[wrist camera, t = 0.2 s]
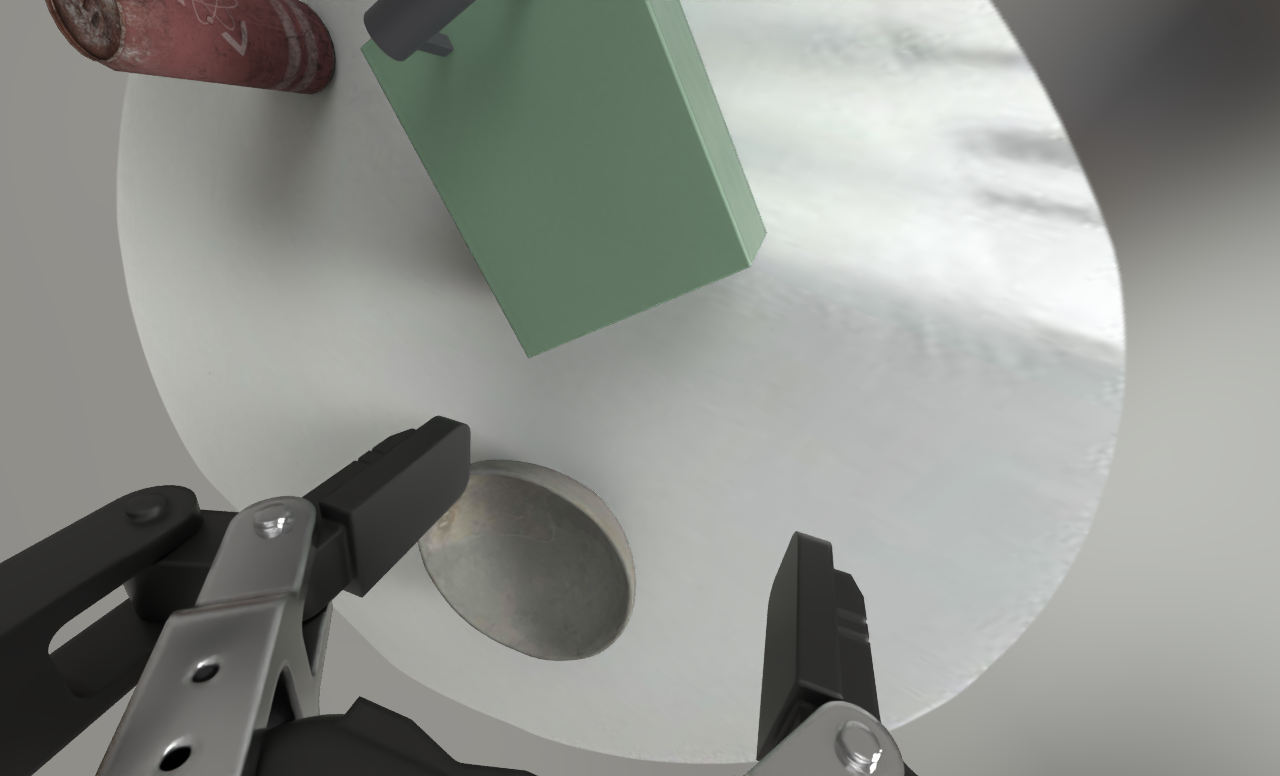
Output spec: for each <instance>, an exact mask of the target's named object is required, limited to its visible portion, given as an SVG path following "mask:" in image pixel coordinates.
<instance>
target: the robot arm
mask: <svg viewBox="0 0 1280 776" xmlns="http://www.w3.org/2000/svg"><path fill="white" fill-rule="evenodd" d="M469 478H470V428H469V426H468V425H467V424H464V423H461V422H458V421H455V420H452V419H449V418H446V417H442V416H436V417H434V418H432V419H431V420H429V421H428V422H427V423H425V424H424V425H422V426H421V427H420V428H418V429H417V430H415V429H409V430H406V431H403V432H400V433H398V434H395V435H392V436H389V437H388V438H387V439H385V440H384V441H382V442H381V443H379V444H378V445H377V446H375V447H374V448H373V449H372V451H368V452H366V453H365V454H364V455H362V456H361V457H359V458H358V461H354V462H352V463H351V464H349V465H348V466H346V467H345V468H343V469H342V470H341V471H339V472H338V473H336V474H335V475H333V476H332V477H331V478H329V479H328V480H326V481H325V482H323V483H322V484H320V485H319V486H318V487H316V488H315V489H313V490H312V491H310V492H309V493H308V494H306V495H305V496H303V497H302V498H300V497H295V496H281V497H274V498H270V499H266V500H263V501H260V502H257V503H255V504H252V505H251V506H249V507H247V508H245V509H244V510H242V511H241V512H226V511H212V510H200V508H199V504H198V501H197V498H196V495H195V494H194V492H193V491H192V490H190V489H188V488H186V487H182V486H174V485H164V486H155V487H150V488H145V489H142V490H139V491H135V492H132V493H130V494H127V495H125V496H123V497H121V498H119V499H116V500H115V501H113V502H111V503H109V504H107V505H106V506H104V507H102V508H100V509H98V510H96V511H95V512H93V513H91V514H89V515H87V516H86V517H84V518H82V519H80V520H78V521H76V522H75V523H73V524H71V525H69V526H67V527H65V528H64V529H62V530H60V531H58V532H56V533H55V534H53V535H51V536H49V537H47V538H46V539H44V540H42V541H40V542H38V543H36V544H35V545H33V546H31V547H29V548H27V549H26V550H24V551H22V552H20V553H18V554H16V555H15V556H13V557H11V558H9V559H7V560H5V561H4V562H2V563H0V776H31V775H33V774H34V773H35V772H36V771H37V770H38V769H39V768H41V767H42V766H43V765H44V764H45V763H46V762H48V761H49V760H50V759H51V758H52V757H53V756H55V755H56V754H57V753H58V752H59V751H60V750H62V749H63V748H64V747H65V746H66V745H67V744H69V743H70V742H71V741H72V740H73V739H74V738H76V737H77V736H78V735H79V734H80V733H81V732H83V731H84V730H85V729H86V728H87V727H88V726H89V725H91V724H92V723H93V722H94V721H95V720H97V719H98V718H99V717H100V716H101V715H102V714H103V713H105V712H106V711H107V710H108V709H109V708H110V707H111V706H113V705H114V704H115V703H116V702H117V701H119V700H120V699H121V698H122V697H123V696H124V695H126V694H127V693H128V692H129V691H130V690H131V689H133V687H135V686H136V685H137V686H136V688H135V691H134V693H133V695H132V697H131V699H130V701H129V703H128V706H127V708H126V710H125V712H124V714H123V716H122V719H121V721H120V723H119V725H118V727H117V729H116V732H115V734H114V736H113V738H112V741H111V743H110V745H109V747H108V749H107V751H106V753H105V755H104V758H103V760H102V762H101V764H100V766H99V768H98V771H97V773H96V775H95V776H537V775H534V774H532V773H530V772H528V771H524V770H516V769H507V768H498V767H489V766H480V765H472V764H464V763H460V762H457V761H455V760H454V759H453V758H452V757H451V756H449V755H448V754H447V753H446V752H445V751H444V750H443V749H442V748H441V747H440V746H439V745H438V744H437V743H436V742H435V741H433V739H431V738H430V737H429V736H428V735H427V734H426V733H425V732H424V731H423V730H422V729H421V728H420V727H419V726H417V724H416V723H415V722H414V721H412V720H411V719H409V718H407V717H405V716H402V715H400V714H398V713H396V712H394V711H391V710H389V709H387V708H385V707H382V706H380V705H378V704H376V703H373V702H371V701H369V700H367V699H365V698H362V697H359V698H358V699H357V700H356V701H355V703H354V704H353V705H352V706H351V708H350V709H349V710H348V711H347V713H346V714H326V715H320V709H319V708H320V707H319V696H320V685H321V678H322V672H323V666H324V660H325V654H326V648H327V641H328V635H329V629H330V623H331V616H332V610H333V604H332V599H334V598H335V597H336V596H337V595H338V594H339V593H340V592H341V591H342V590H345V591H347V592H350V593H352V594H355V595H357V596H359V597H363V596H364V595H365V594H366V593H367V592H368V591H369V590H370V589H371V588H372V587H373V586H374V585H375V584H376V583H377V582H378V581H379V580H380V579H381V578H382V577H383V576H384V575H385V574H386V573H387V572H388V571H389V570H390V569H391V568H392V567H393V566H394V565H395V564H396V563H397V562H398V561H399V560H400V559H401V558H402V557H403V556H404V555H405V554H406V553H407V552H408V551H409V549H410V548H411V547H412V546H413V545H414V544H415V543H416V542H417V541H418V540H419V539H420V538H421V537H422V536H423V535H424V534H425V533H426V532H427V531H428V530H429V529H430V528H431V527H432V526H433V525H434V524H435V523H436V522H437V521H438V520H439V519H440V518H441V517H442V516H443V515H444V514H445V513H446V512H447V511H448V510H449V509H450V508H451V507H452V506H453V505H454V504H455V503H456V502H457V501H458V500H459V498H460V497H461V496H462V495H463V493H464V491H465V489H466V487H467V485H468V482H469ZM122 584H123V585H124V587H125V589H126V592H127V594H128V596H129V598H128V599H127V600H125V601H124V602H123V603H121V604H120V605H119V606H117V607H116V608H114V609H113V610H112V611H110V612H109V613H107V614H106V615H104V616H103V617H102V618H100V619H99V620H98V621H96V622H95V623H93V624H92V625H90V626H89V627H88V628H86V629H85V630H83V631H82V632H81V633H79V634H78V635H77V636H75V637H74V638H72V639H71V640H69V641H68V642H67V643H65V644H64V645H62V646H61V647H60V648H58V649H57V650H55V651H54V652H53V653H51V654H50V655H49V654H48V647H49V644H50V641H51V640H52V638H53V636H54V635H55V633H56V632H57V631H58V630H59V629H60V628H61V627H62V626H63V625H64V624H66V623H67V622H68V621H70V620H71V619H73V618H74V617H75V616H77V615H78V614H80V613H81V612H83V611H84V610H86V609H87V608H88V607H90V606H92V605H93V604H94V603H96V602H97V601H99V600H100V599H102V598H103V597H105V596H106V595H108V594H109V593H110V592H112V591H113V590H115V589H116V588H118V587H119V586H121V585H122ZM866 620H867V618H866V611H865V604H864V597H863V595H862V593H861V591H860V590H859V588H858V586H857V584H856V583H855V581H854V579H853V577H852V576H851V574H848V573H845V572H842V571H839V570H836V569H834V567H833V554H832V545H831V543H830V542H828V541H825V540H822V539H819V538H816V537H813V536H810V535H807V534H803V533H800V532H797V531H796V532H795V533H794V534H793V536H792V538H791V541H790V543H789V546H788V548H787V551H786V553H785V555H784V558H783V560H782V563H781V565H780V567H779V570H778V572H777V575H776V577H775V580H774V583H773V586H772V589H771V593H770V598H769V604H768V614H767V627H766V640H765V653H764V666H763V679H762V692H761V705H760V718H759V731H758V745H757V758H756V760H758V761H760V762H758V763H757V764H756V765H755V766H754V767H753V768H752V769H751V770H750V771H748V773H746V774H745V775H744V776H917V775H916V774H915V773H914V772H913V771H912V770H911V769H910V768H909V767H908V766H907V765H906V764H905V763H904V761H903V760H902V756H901V753H900V751H899V748H898V746H897V744H896V743H895V741H894V739H893V737H892V736H891V735H890V733H889V732H888V730H887V729H886V728H885V727H884V726H883V725H882V724H881V719H880V715H879V707H878V700H877V693H876V685H875V678H874V670H873V663H872V656H871V648H870V643H869V642H868V640H869V633H868V626H867V624H866Z"/></svg>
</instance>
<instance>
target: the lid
mask: <svg viewBox="0 0 1280 776" xmlns="http://www.w3.org/2000/svg"><path fill="white" fill-rule="evenodd" d="M364 23H365V26H366V29H367V31H368V33H369V34H370V36H371V39H370V40H369V41H368V42H367V43H365V44H364V45H363V46H362V47H361V51H362V53H363V54H364V56H365V58H366V60H367V62H368V64H369V65H370V67H371V69H372V71H373V73H374V75H375V77H376V78H377V80H378V82H379V84H380V86H381V88H382V89H383V91H384V93H385V95H386V97H387V99H388V100H389V102H390V104H391V106H392V108H393V110H394V111H395V113H396V115H397V117H398V119H399V121H400V123H401V124H402V126H403V128H404V130H405V132H406V134H407V135H408V137H409V139H410V141H411V143H412V145H413V146H414V148H415V150H416V152H417V154H418V156H419V158H420V159H421V161H422V163H423V165H424V167H425V169H426V170H427V172H428V174H429V176H430V178H431V180H432V181H433V183H434V185H435V187H436V189H437V191H438V192H439V194H440V196H441V198H442V200H443V202H444V204H445V205H446V207H447V209H448V211H449V213H450V215H451V216H452V218H453V220H454V222H455V224H456V226H457V227H458V229H459V231H460V233H461V235H462V237H463V239H464V240H465V242H466V244H467V246H468V248H469V250H470V251H471V253H472V255H473V257H474V259H475V261H476V262H477V264H478V266H479V268H480V270H481V272H482V273H483V275H484V277H485V279H486V281H487V283H488V285H489V286H490V288H491V290H492V292H493V294H494V296H495V297H496V299H497V301H498V303H499V305H500V307H501V308H502V310H503V312H504V314H505V316H506V318H507V319H508V321H509V323H510V325H511V327H512V329H513V331H514V332H515V334H516V336H517V338H518V340H519V342H520V343H521V345H522V347H523V349H524V351H525V353H526V354H527V356H528V358H530V357H533V356H535V355H538V354H540V353H542V352H545V351H547V350H550V349H552V348H555V347H557V346H559V345H562V344H564V343H567V342H569V341H572V340H574V339H576V338H579V337H581V336H584V335H586V334H588V333H591V332H593V331H596V330H598V329H601V328H603V327H605V326H608V325H610V324H613V323H615V322H618V321H620V320H622V319H625V318H627V317H630V316H632V315H635V314H637V313H639V312H642V311H644V310H647V309H649V308H652V307H654V306H656V305H659V304H661V303H664V302H666V301H669V300H671V299H673V298H676V297H678V296H681V295H683V294H686V293H688V292H690V291H693V290H695V289H698V288H700V287H702V286H705V285H707V284H710V283H712V282H715V281H717V280H719V279H722V278H724V277H727V276H729V275H732V274H734V273H736V272H739V271H741V270H744V269H746V268H749V267H750V266H751V263H752V262H751V260H750V257H749V255H748V252H747V250H746V247H745V244H744V242H743V239H742V237H741V234H740V232H739V229H738V226H737V224H736V221H735V219H734V216H733V214H732V211H731V209H730V206H729V203H728V201H727V198H726V196H725V193H724V191H723V188H722V185H721V183H720V180H719V178H718V175H717V173H716V170H715V168H714V165H713V162H712V160H711V157H710V155H709V152H708V150H707V147H706V144H705V142H704V139H703V137H702V134H701V132H700V129H699V127H698V124H697V121H696V119H695V116H694V114H693V111H692V109H691V106H690V103H689V101H688V98H687V96H686V93H685V91H684V88H683V86H682V83H681V80H680V78H679V75H678V73H677V70H676V68H675V65H674V62H673V60H672V57H671V55H670V52H669V50H668V47H667V45H666V42H665V39H664V37H663V34H662V32H661V29H660V27H659V24H658V21H657V19H656V16H655V14H654V11H653V9H652V6H651V4H650V1H649V0H378V1H377V2H376V3H375V4H374V5H373V6H372V7H371V8H370V9H369V10H367V11H366V12H365V14H364Z"/></svg>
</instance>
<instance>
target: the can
mask: <svg viewBox="0 0 1280 776" xmlns="http://www.w3.org/2000/svg"><path fill="white" fill-rule="evenodd" d="M45 1H46V4H47V7H48V10H49V12H50V14H51V15H52V17H53V19H54V21H55V23H56V25H57V27H58V29H59V30H60V31H61V33H62V34H63V35H64V36H65V38H66V39H67V40H68V42H69V43H70V44H71V45H72V46H73V47H74V48H75V49H77V50H78V51H79V52H80V53H81V54H82V55H84V56H85V57H87V58H89V59H91V60H93V61H97V62H99V63H101V64H103V65H105V66H107V67H109V68H111V69H113V70H115V71H122V72H130V73H138V74H146V75H155V76H163V77H171V78H179V79H187V80H196V81H204V82H212V83H220V84H229V85H237V86H245V87H253V88H262V89H270V90H278V91H286V92H294V93H303V94H314V93H317V92H319V91H321V90H322V89H323V88H324V87H325V86H326V85H327V84H328V83H329V81H330V80H331V78H332V75H333V73H334V69H335V52H334V46H333V42H332V40H331V37H330V34H329V32H328V30H327V28H326V27H325V25H324V24H323V22H322V20H321V19H320V18H319V17H318V15H317V14H316V13H315V12H314V11H313V10H312V9H311V8H310V7H309V6H308V5H307V4H305V3H303V2H301V1H299V0H45Z"/></svg>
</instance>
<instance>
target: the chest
mask: <svg viewBox="0 0 1280 776" xmlns="http://www.w3.org/2000/svg"><path fill="white" fill-rule="evenodd" d="M649 1H650V4H651V6H652V9H653V11H654V14H655V16H656V19H657V21H658V24H659V27H660V29H661V32H662V34H663V37H664V39H665V42H666V45H667V47H668V50H669V52H670V55H671V57H672V60H673V62H674V65H675V68H676V70H677V73H678V75H679V78H680V80H681V83H682V86H683V88H684V91H685V93H686V96H687V98H688V101H689V103H690V106H691V109H692V111H693V114H694V116H695V119H696V121H697V124H698V127H699V129H700V132H701V134H702V137H703V139H704V142H705V144H706V147H707V150H708V152H709V155H710V157H711V160H712V162H713V165H714V168H715V170H716V173H717V175H718V178H719V180H720V183H721V185H722V188H723V191H724V193H725V196H726V198H727V201H728V203H729V206H730V209H731V211H732V214H733V216H734V219H735V221H736V224H737V226H738V229H739V232H740V234H741V237H742V239H743V242H744V244H745V247H746V250H747V252H748V255H749V257H750V260H751V262H753V260H754V258H755V256H756V254H757V252H758V250H759V248H760V246H761V244H762V242H763V240H764V238H765V236H766V233H767V232H766V230H765V227H764V224H763V222H762V219H761V216H760V214H759V211H758V208H757V206H756V203H755V200H754V198H753V195H752V192H751V190H750V187H749V184H748V182H747V179H746V176H745V174H744V171H743V168H742V166H741V163H740V160H739V158H738V155H737V152H736V150H735V147H734V144H733V142H732V139H731V136H730V134H729V131H728V128H727V126H726V123H725V120H724V118H723V115H722V112H721V110H720V107H719V104H718V102H717V99H716V96H715V94H714V91H713V89H712V86H711V83H710V81H709V78H708V75H707V73H706V70H705V67H704V65H703V62H702V59H701V57H700V54H699V51H698V49H697V46H696V43H695V41H694V38H693V35H692V33H691V30H690V27H689V25H688V22H687V19H686V17H685V14H684V11H683V9H682V6H681V3H680V1H679V0H649Z"/></svg>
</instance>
